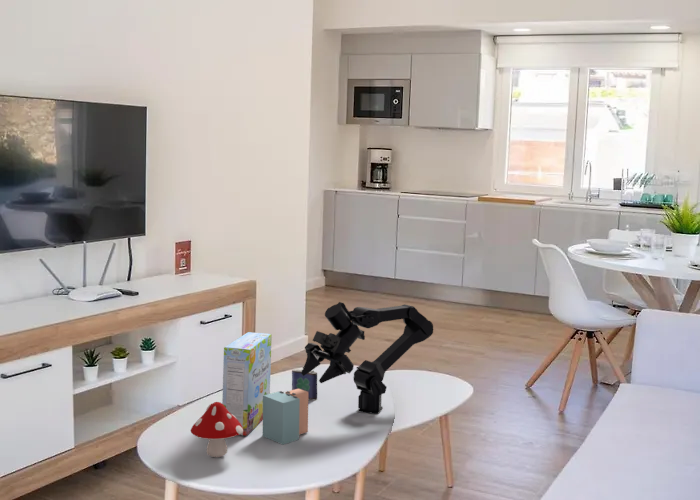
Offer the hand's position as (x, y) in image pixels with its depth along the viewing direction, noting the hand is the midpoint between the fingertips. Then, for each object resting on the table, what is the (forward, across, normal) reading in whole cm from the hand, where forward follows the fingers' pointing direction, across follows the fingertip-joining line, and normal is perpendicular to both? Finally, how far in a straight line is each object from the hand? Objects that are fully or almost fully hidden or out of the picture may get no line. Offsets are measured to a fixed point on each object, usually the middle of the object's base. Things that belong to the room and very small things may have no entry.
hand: (310, 378), depth 243 cm
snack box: (+21, -11, +1) cm, 24 cm away
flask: (-1, -23, +20) cm, 30 cm away
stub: (+15, +4, +6) cm, 16 cm away
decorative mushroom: (+36, +6, -11) cm, 38 cm away
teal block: (+19, +4, +2) cm, 20 cm away
